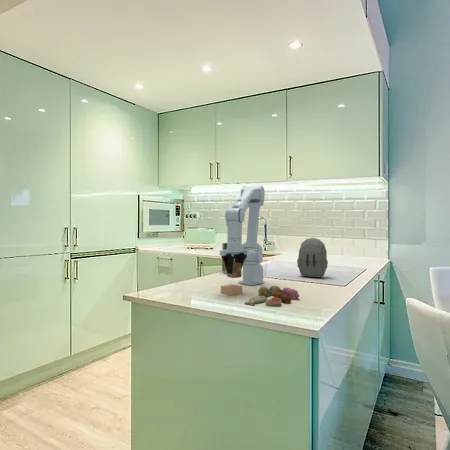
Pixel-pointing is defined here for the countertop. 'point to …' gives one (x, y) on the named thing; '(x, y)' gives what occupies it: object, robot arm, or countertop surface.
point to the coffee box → (224, 247)
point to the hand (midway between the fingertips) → (234, 272)
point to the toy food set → (278, 295)
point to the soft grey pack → (312, 258)
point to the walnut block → (235, 271)
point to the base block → (231, 289)
